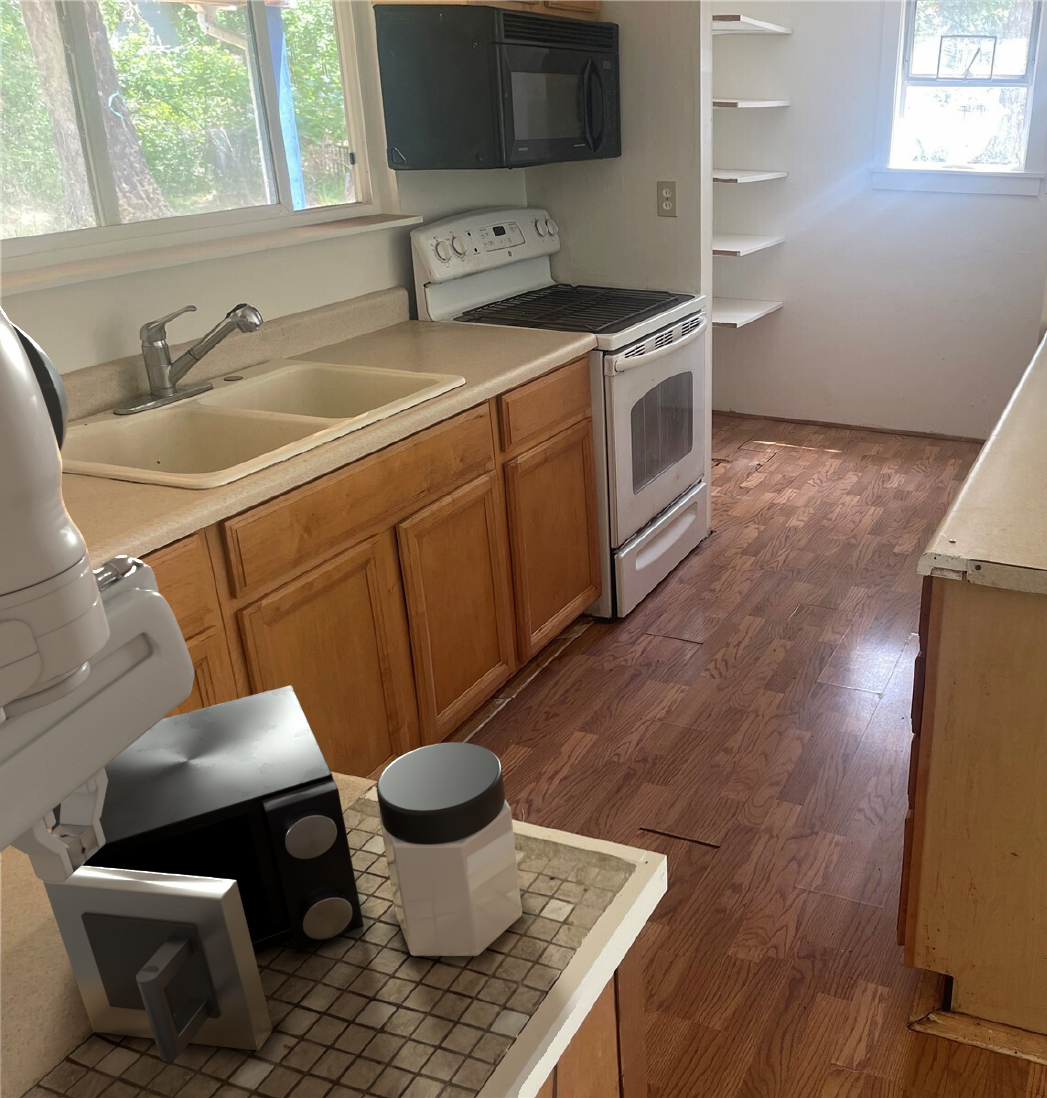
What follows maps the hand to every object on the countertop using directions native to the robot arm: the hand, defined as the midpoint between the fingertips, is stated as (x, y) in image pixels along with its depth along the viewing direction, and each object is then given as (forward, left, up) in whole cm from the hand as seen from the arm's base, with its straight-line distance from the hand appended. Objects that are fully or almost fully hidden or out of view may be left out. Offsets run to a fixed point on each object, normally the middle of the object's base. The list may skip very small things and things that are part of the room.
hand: (73, 863), depth 54 cm
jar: (+20, +4, -17) cm, 27 cm away
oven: (+6, +14, -17) cm, 22 cm away
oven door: (+1, +2, -16) cm, 17 cm away
